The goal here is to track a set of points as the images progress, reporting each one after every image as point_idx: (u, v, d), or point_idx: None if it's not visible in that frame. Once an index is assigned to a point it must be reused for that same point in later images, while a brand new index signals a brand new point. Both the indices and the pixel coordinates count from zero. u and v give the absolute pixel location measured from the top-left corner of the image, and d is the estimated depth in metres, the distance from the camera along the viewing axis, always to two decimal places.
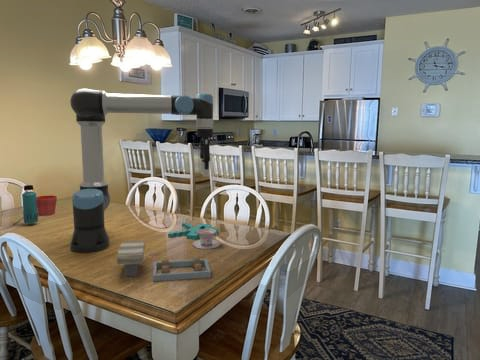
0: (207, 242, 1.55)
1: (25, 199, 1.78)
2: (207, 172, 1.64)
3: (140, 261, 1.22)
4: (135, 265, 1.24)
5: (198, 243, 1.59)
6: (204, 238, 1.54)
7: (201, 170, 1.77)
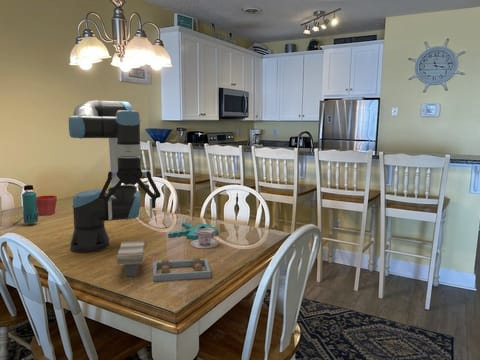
0: (205, 242, 1.55)
1: (25, 199, 1.78)
2: (108, 214, 1.25)
3: (140, 261, 1.22)
4: (135, 265, 1.24)
5: (196, 243, 1.59)
6: (202, 238, 1.55)
7: None
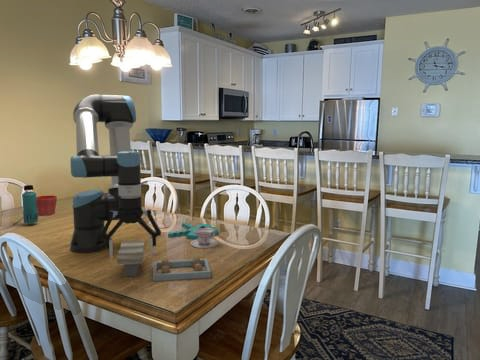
0: (205, 241, 1.56)
1: (25, 199, 1.78)
2: (110, 252, 1.26)
3: (140, 261, 1.22)
4: (135, 265, 1.24)
5: (196, 242, 1.60)
6: (202, 237, 1.55)
7: None
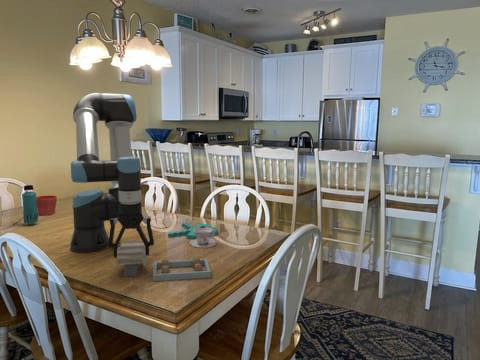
0: (204, 241, 1.56)
1: (25, 199, 1.78)
2: None
3: (140, 261, 1.22)
4: (135, 265, 1.24)
5: (195, 242, 1.60)
6: (201, 237, 1.55)
7: None
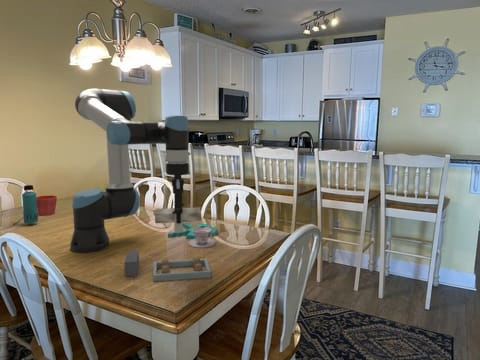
0: (202, 241, 1.56)
1: (25, 199, 1.78)
2: (180, 227, 1.21)
3: None
4: (135, 265, 1.24)
5: (194, 242, 1.60)
6: (199, 237, 1.56)
7: None
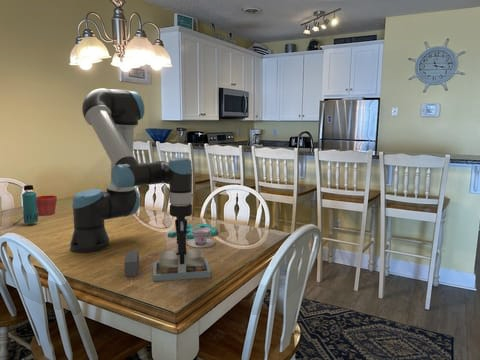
0: (201, 241, 1.56)
1: (25, 199, 1.78)
2: (183, 267, 1.23)
3: None
4: (135, 265, 1.24)
5: (193, 242, 1.60)
6: (198, 237, 1.56)
7: None
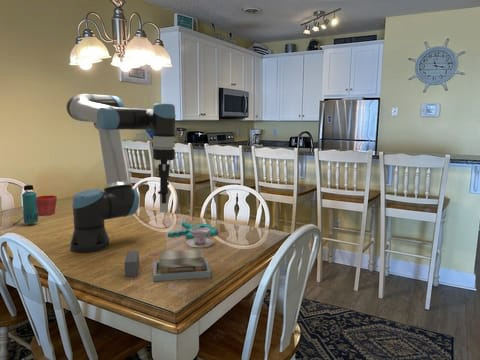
0: (200, 241, 1.56)
1: (25, 199, 1.78)
2: (165, 207, 1.25)
3: None
4: (135, 265, 1.24)
5: (192, 242, 1.60)
6: (197, 237, 1.55)
7: None
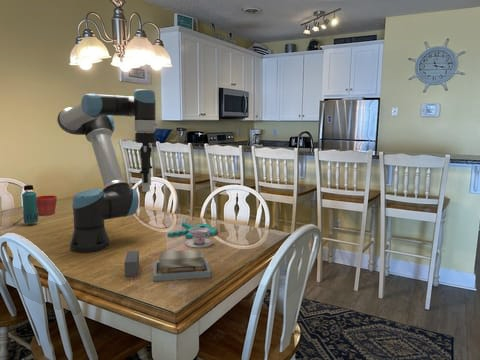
0: (199, 241, 1.56)
1: (25, 199, 1.78)
2: (147, 186, 1.33)
3: None
4: (135, 265, 1.24)
5: (191, 242, 1.60)
6: (196, 237, 1.55)
7: None
